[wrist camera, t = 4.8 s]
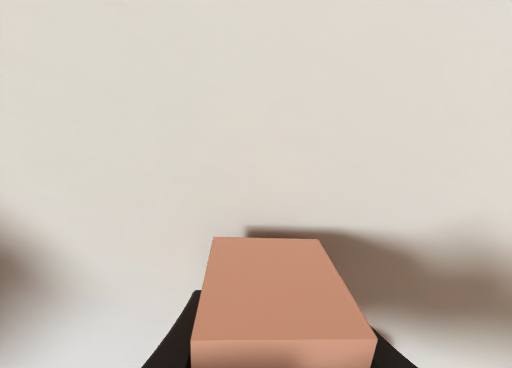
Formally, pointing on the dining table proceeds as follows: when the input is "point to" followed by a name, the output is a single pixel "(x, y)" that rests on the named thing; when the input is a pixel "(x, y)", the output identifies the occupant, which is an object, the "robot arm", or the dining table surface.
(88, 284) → the dining table surface
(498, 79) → the dining table surface
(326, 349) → the salmon pink block
